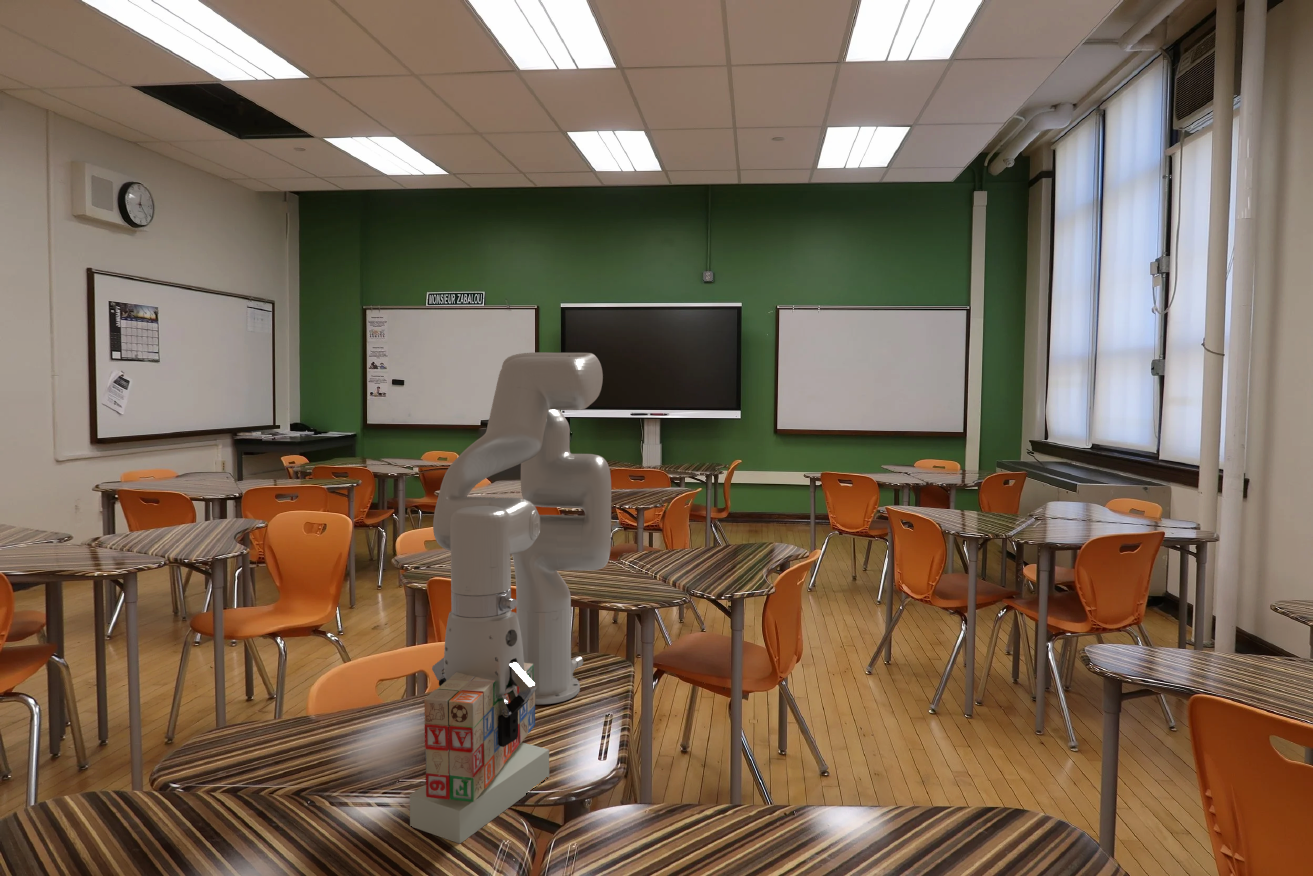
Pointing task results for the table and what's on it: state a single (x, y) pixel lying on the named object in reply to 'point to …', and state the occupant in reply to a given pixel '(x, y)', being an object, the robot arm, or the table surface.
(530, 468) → the robot arm
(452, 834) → the base block
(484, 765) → the stack of blocks
